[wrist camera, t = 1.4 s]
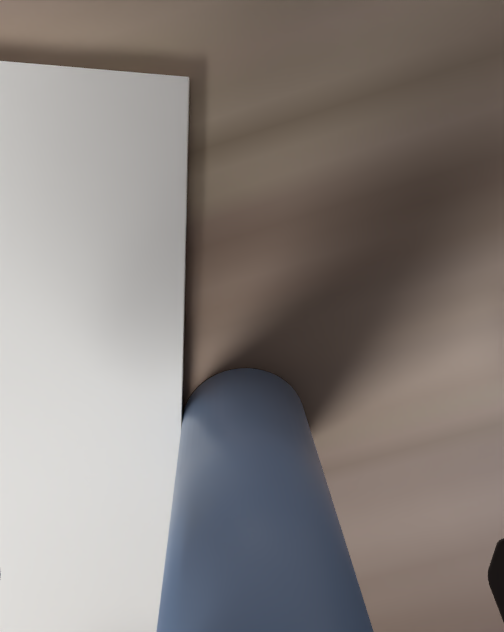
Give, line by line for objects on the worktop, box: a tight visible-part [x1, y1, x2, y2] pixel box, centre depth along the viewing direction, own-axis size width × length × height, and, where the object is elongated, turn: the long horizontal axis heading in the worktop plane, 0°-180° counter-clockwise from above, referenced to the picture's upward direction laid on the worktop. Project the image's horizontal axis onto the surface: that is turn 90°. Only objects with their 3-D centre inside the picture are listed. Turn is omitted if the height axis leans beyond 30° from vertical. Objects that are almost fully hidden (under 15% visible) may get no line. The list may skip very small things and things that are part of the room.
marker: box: [157, 368, 373, 632], centre depth 9 cm, size 3×3×8 cm
